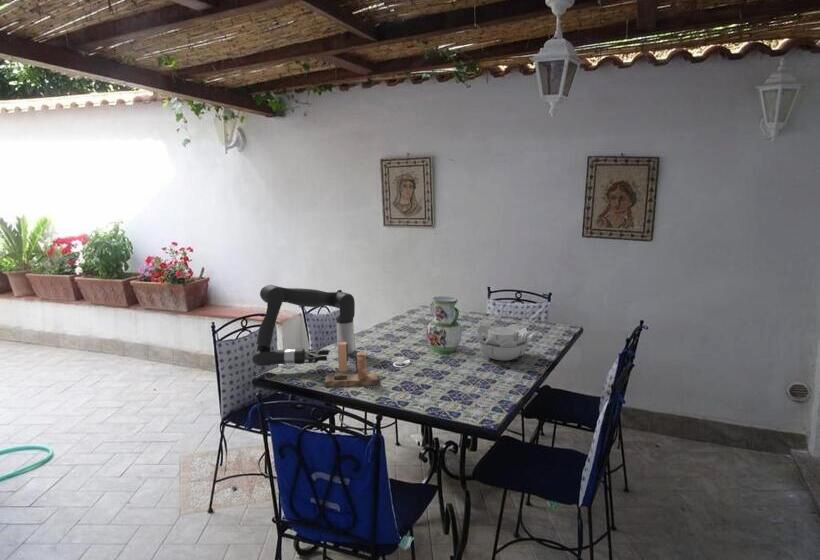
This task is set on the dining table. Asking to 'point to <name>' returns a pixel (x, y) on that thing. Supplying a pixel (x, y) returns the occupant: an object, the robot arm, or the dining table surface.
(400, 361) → the teacup and saucer
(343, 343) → the tall tan pillar block
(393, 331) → the dining table surface
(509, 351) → the decorative bowl
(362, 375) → the rail
